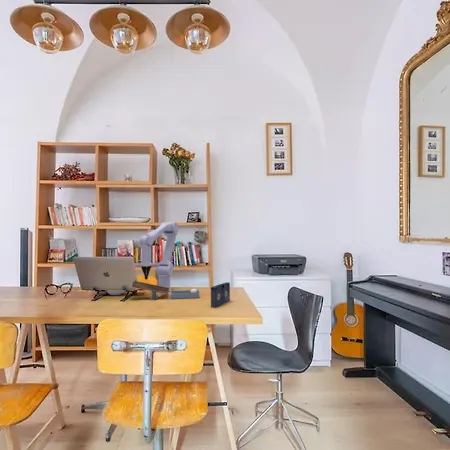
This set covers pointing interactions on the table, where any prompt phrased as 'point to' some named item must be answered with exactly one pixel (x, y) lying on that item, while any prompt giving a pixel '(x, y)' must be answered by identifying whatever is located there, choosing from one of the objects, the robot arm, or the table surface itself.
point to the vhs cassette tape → (220, 294)
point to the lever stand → (154, 295)
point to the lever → (150, 287)
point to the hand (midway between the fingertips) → (146, 279)
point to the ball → (193, 291)
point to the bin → (184, 294)
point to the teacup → (115, 292)
